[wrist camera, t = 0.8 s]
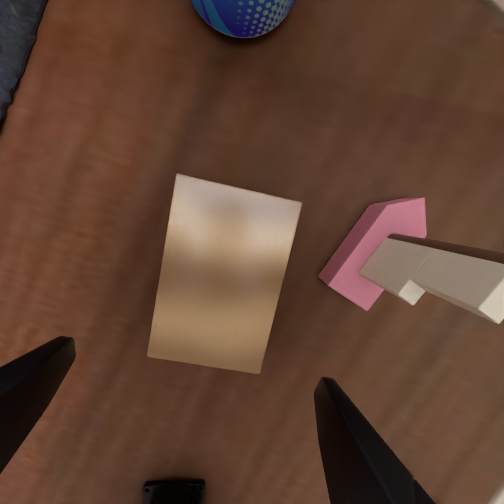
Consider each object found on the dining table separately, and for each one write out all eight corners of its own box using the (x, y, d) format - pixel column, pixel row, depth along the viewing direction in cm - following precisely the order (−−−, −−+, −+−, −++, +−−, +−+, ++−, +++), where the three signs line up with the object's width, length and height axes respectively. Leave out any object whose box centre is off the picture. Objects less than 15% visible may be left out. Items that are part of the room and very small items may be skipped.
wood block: (255, 344, 25) (259, 374, 20) (163, 328, 24) (146, 357, 19) (289, 202, 22) (302, 202, 18) (188, 179, 21) (175, 173, 17)
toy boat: (352, 299, 24) (484, 408, 11) (317, 276, 24) (414, 363, 11) (419, 212, 23) (654, 222, 10) (383, 184, 22) (586, 157, 9)
